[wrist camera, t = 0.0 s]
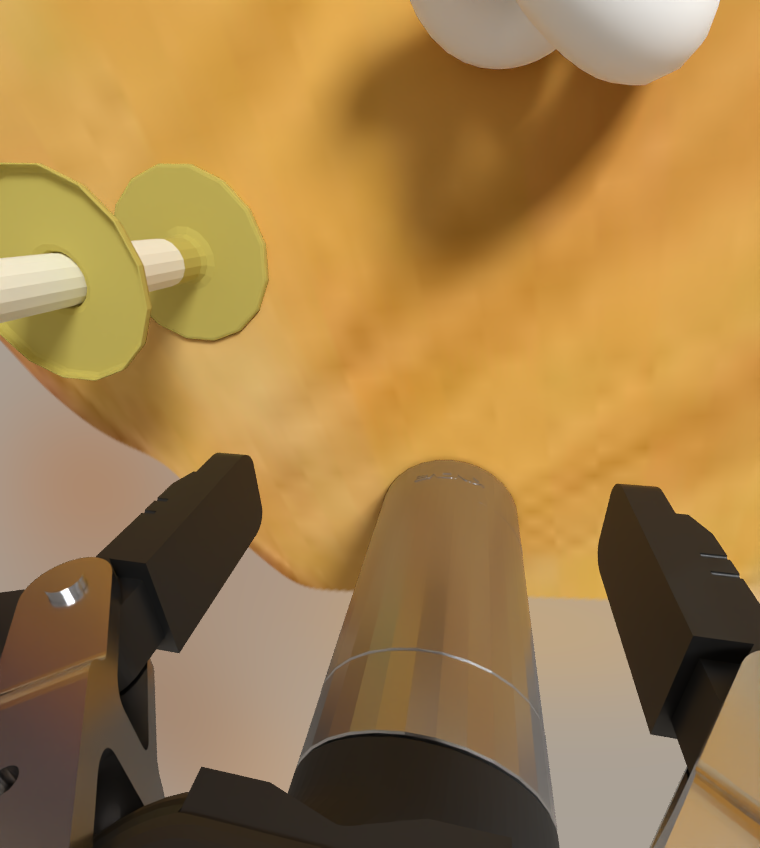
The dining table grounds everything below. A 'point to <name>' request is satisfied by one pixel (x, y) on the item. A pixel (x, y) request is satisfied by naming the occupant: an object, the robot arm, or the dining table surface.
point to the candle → (122, 265)
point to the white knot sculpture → (572, 33)
